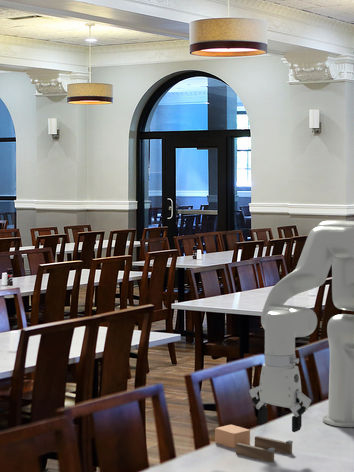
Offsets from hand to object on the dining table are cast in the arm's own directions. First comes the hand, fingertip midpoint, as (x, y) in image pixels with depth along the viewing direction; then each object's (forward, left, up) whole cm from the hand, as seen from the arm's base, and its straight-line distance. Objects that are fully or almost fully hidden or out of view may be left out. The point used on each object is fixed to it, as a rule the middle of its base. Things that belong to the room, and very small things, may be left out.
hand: (279, 427), depth 215 cm
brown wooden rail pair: (+1, -4, -7) cm, 8 cm away
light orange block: (-1, -15, -7) cm, 17 cm away
